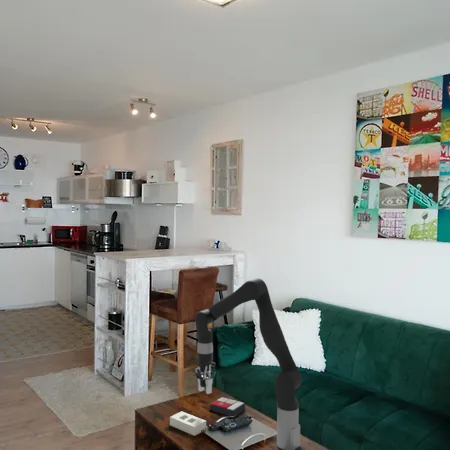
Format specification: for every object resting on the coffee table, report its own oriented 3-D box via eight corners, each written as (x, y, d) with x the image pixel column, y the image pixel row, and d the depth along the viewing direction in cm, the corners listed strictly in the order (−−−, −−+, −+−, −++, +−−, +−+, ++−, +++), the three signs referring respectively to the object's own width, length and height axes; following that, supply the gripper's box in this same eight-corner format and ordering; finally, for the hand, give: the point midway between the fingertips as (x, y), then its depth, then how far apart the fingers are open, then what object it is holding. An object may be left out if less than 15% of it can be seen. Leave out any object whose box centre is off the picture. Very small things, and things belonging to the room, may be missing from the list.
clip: (212, 392, 223) (212, 378, 223) (208, 394, 221) (208, 380, 220) (201, 388, 227) (201, 374, 227) (197, 390, 225) (197, 376, 225)
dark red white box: (221, 396, 245) (245, 401, 236) (221, 404, 245) (245, 410, 236) (209, 403, 236) (233, 409, 227) (209, 411, 236) (233, 418, 227)
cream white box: (206, 429, 215) (206, 420, 215) (194, 435, 209) (194, 427, 208) (181, 419, 225) (181, 411, 225) (169, 425, 219) (169, 416, 219)
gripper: (201, 356, 216) (201, 392, 216) (220, 349, 226) (220, 383, 227) (189, 352, 220) (189, 388, 221) (208, 346, 231) (208, 379, 232)
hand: (205, 385), depth 224 cm, fingers closed on clip, 3 cm apart
